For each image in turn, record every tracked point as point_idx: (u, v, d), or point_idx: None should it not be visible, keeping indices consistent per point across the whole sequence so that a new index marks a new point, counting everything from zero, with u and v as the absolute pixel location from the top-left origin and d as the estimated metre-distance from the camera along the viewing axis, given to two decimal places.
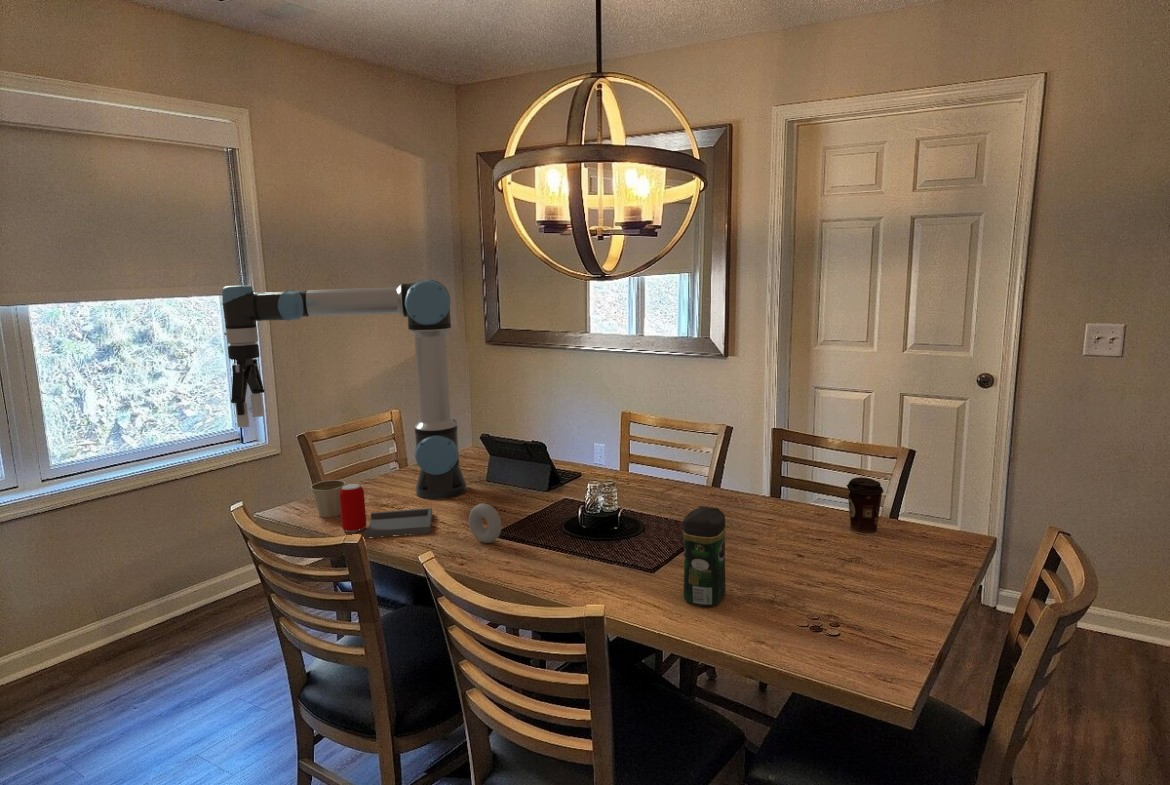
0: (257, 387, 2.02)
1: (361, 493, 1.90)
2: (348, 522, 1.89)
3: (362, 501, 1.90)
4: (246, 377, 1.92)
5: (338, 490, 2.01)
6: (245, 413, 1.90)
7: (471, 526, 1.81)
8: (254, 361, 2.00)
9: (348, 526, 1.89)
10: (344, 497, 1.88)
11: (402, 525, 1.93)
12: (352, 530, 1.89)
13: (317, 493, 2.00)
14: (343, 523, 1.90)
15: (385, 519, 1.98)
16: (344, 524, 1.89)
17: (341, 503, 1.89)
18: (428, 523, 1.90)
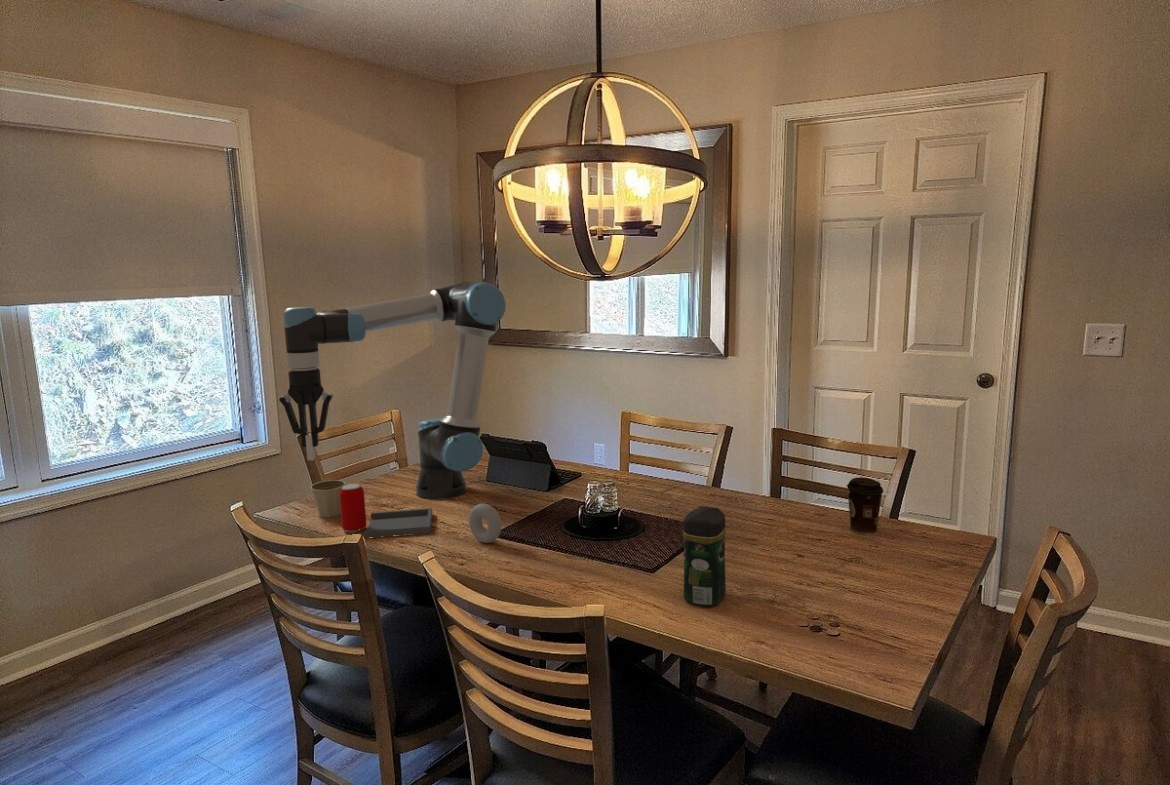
0: (310, 424, 1.85)
1: (361, 493, 1.90)
2: (348, 522, 1.89)
3: (362, 501, 1.90)
4: None
5: (338, 490, 2.01)
6: None
7: (471, 526, 1.81)
8: (327, 396, 1.85)
9: (348, 526, 1.89)
10: (344, 497, 1.88)
11: (402, 525, 1.93)
12: (352, 530, 1.89)
13: (317, 493, 2.00)
14: (343, 523, 1.90)
15: (385, 519, 1.98)
16: (344, 524, 1.89)
17: (341, 503, 1.89)
18: (428, 523, 1.90)
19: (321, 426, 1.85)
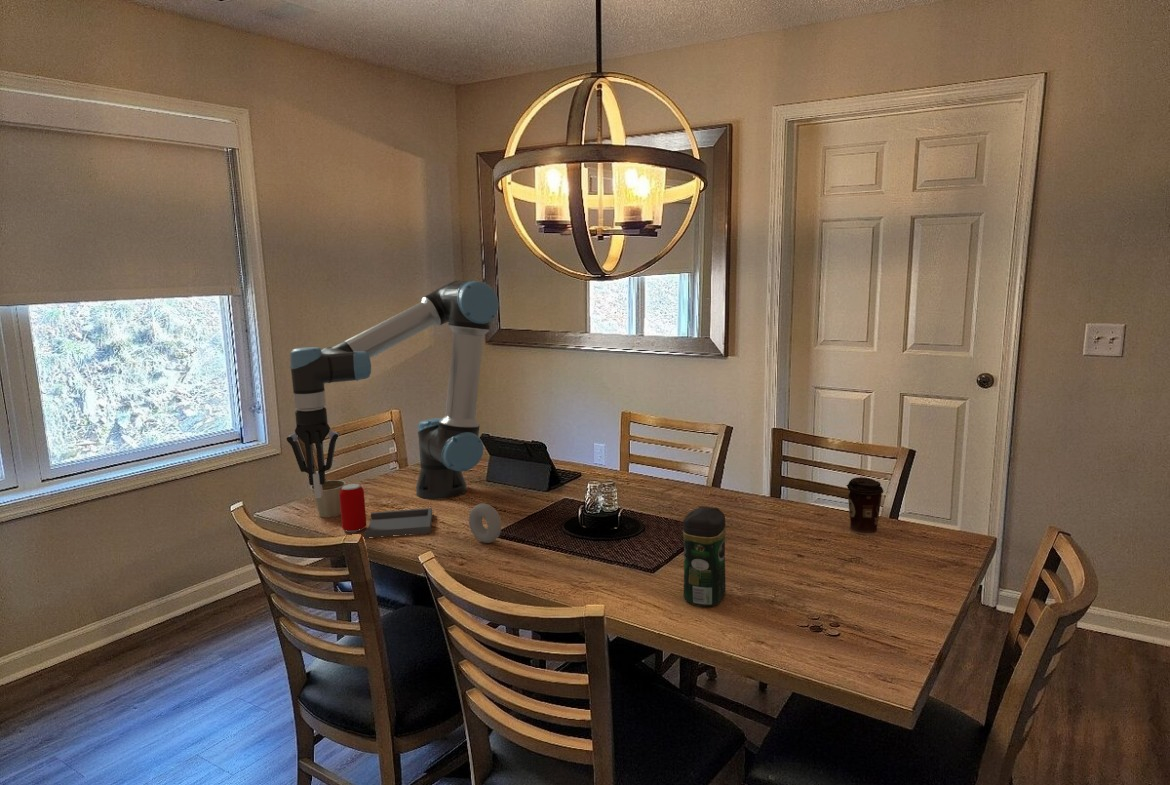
0: None
1: (361, 493, 1.90)
2: (348, 522, 1.89)
3: (362, 501, 1.90)
4: None
5: (338, 490, 2.01)
6: (313, 484, 1.88)
7: (471, 526, 1.81)
8: (333, 435, 1.86)
9: (348, 526, 1.89)
10: (344, 497, 1.88)
11: (402, 525, 1.93)
12: (352, 530, 1.89)
13: None
14: (343, 523, 1.90)
15: (385, 519, 1.98)
16: (344, 524, 1.89)
17: (341, 503, 1.89)
18: (428, 523, 1.90)
19: (328, 464, 1.87)
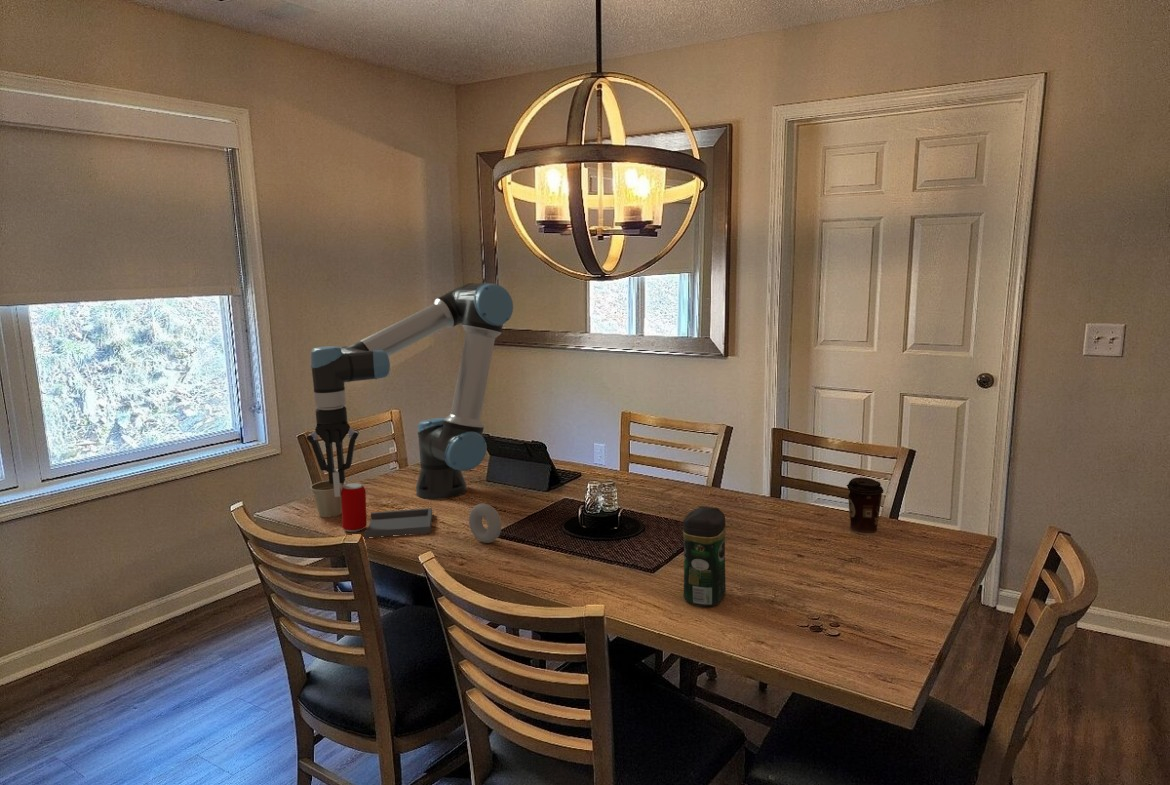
0: None
1: (363, 493, 1.90)
2: (348, 521, 1.89)
3: (363, 501, 1.90)
4: None
5: None
6: (333, 483, 1.88)
7: (471, 526, 1.81)
8: (353, 433, 1.87)
9: (348, 525, 1.89)
10: (346, 496, 1.88)
11: (402, 525, 1.93)
12: (352, 529, 1.89)
13: (317, 493, 2.00)
14: (343, 522, 1.90)
15: (385, 519, 1.98)
16: (344, 523, 1.89)
17: (342, 502, 1.89)
18: (428, 523, 1.90)
19: (348, 463, 1.88)
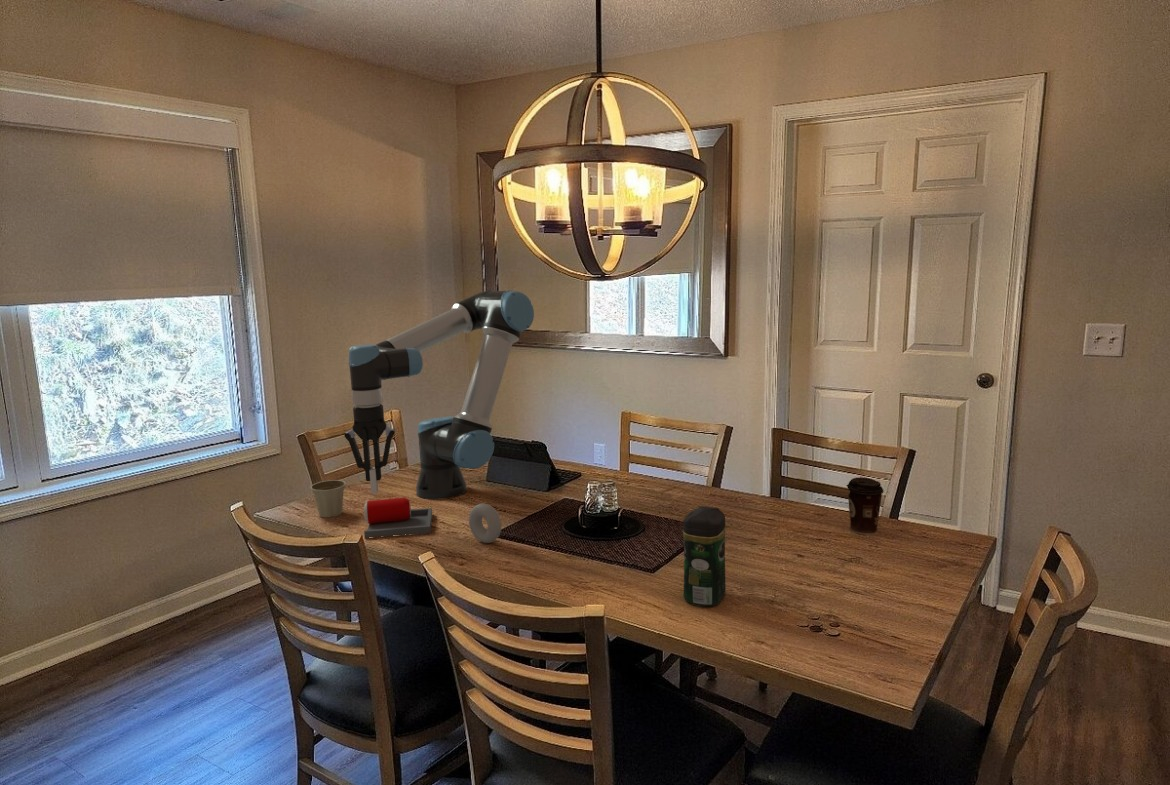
0: None
1: (404, 514, 1.95)
2: (376, 502, 1.94)
3: (395, 515, 1.94)
4: None
5: (338, 490, 2.01)
6: (370, 480, 1.90)
7: (471, 526, 1.81)
8: (390, 431, 1.89)
9: (372, 502, 1.94)
10: (402, 499, 1.96)
11: (402, 525, 1.93)
12: (367, 506, 1.93)
13: (317, 493, 2.00)
14: (374, 500, 1.96)
15: None
16: (373, 500, 1.95)
17: (395, 498, 1.97)
18: (428, 523, 1.90)
19: (384, 460, 1.89)
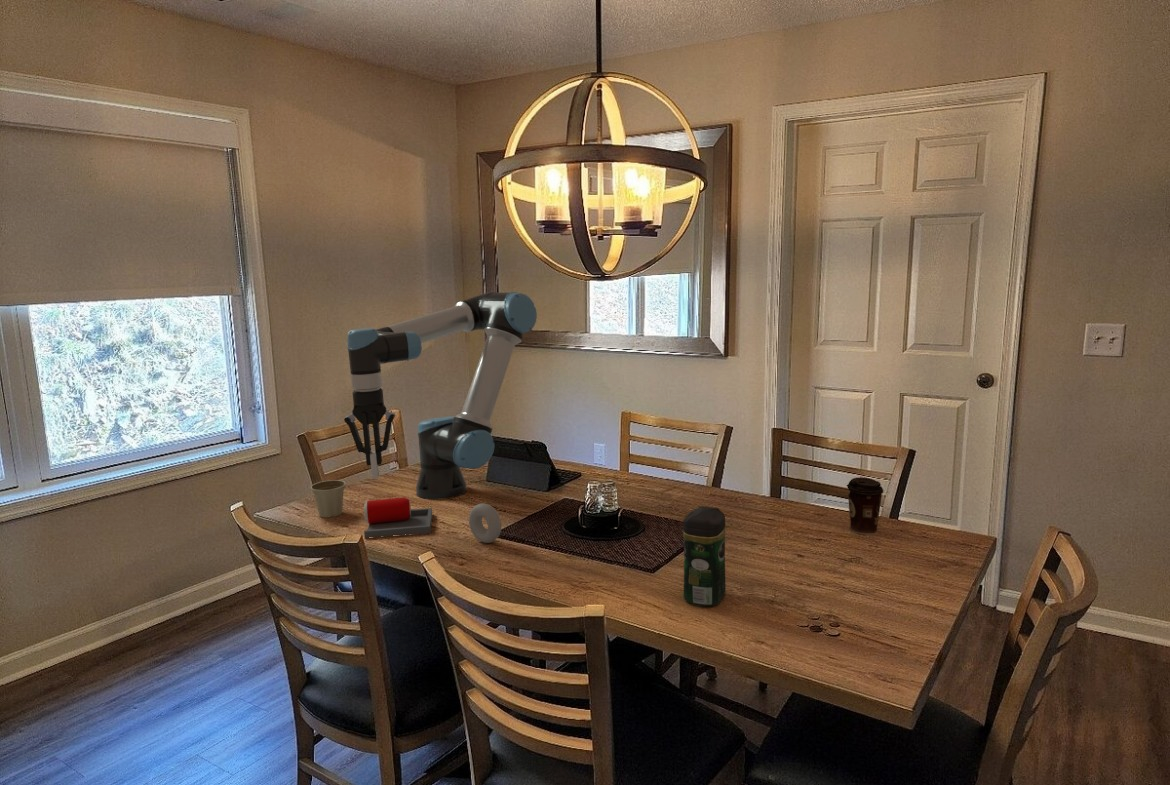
0: None
1: (404, 513, 1.95)
2: (376, 501, 1.94)
3: (395, 515, 1.94)
4: None
5: (338, 490, 2.01)
6: (371, 464, 1.89)
7: (471, 526, 1.81)
8: (390, 415, 1.88)
9: (372, 502, 1.94)
10: (402, 498, 1.96)
11: (402, 525, 1.93)
12: (367, 505, 1.93)
13: (317, 493, 2.00)
14: (374, 500, 1.96)
15: None
16: (373, 500, 1.95)
17: (395, 498, 1.97)
18: (428, 523, 1.90)
19: (385, 445, 1.89)
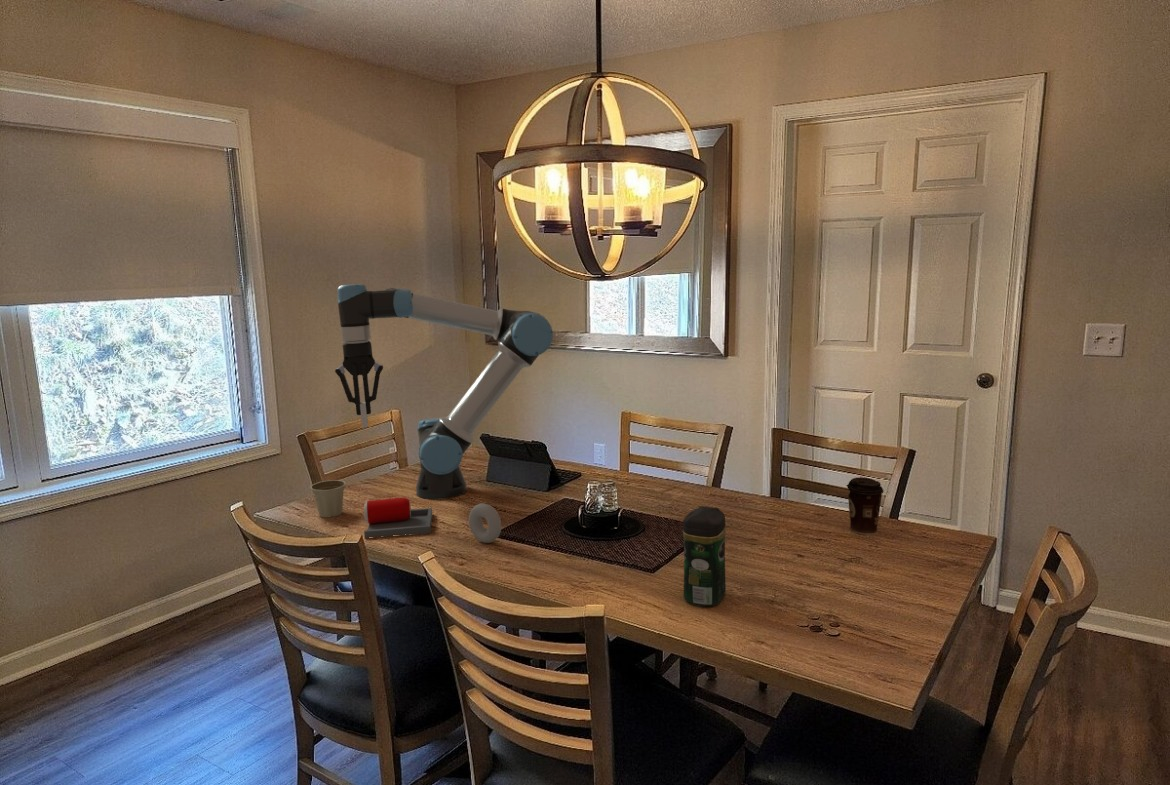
0: (364, 393, 1.99)
1: (404, 514, 1.95)
2: (376, 502, 1.94)
3: (395, 515, 1.94)
4: None
5: (338, 490, 2.01)
6: (360, 414, 2.00)
7: (471, 526, 1.81)
8: (378, 366, 1.99)
9: (372, 502, 1.94)
10: (402, 498, 1.96)
11: (402, 525, 1.93)
12: (367, 505, 1.93)
13: (317, 493, 2.00)
14: (374, 500, 1.96)
15: None
16: (373, 500, 1.95)
17: (395, 498, 1.97)
18: (428, 523, 1.90)
19: (374, 395, 2.00)
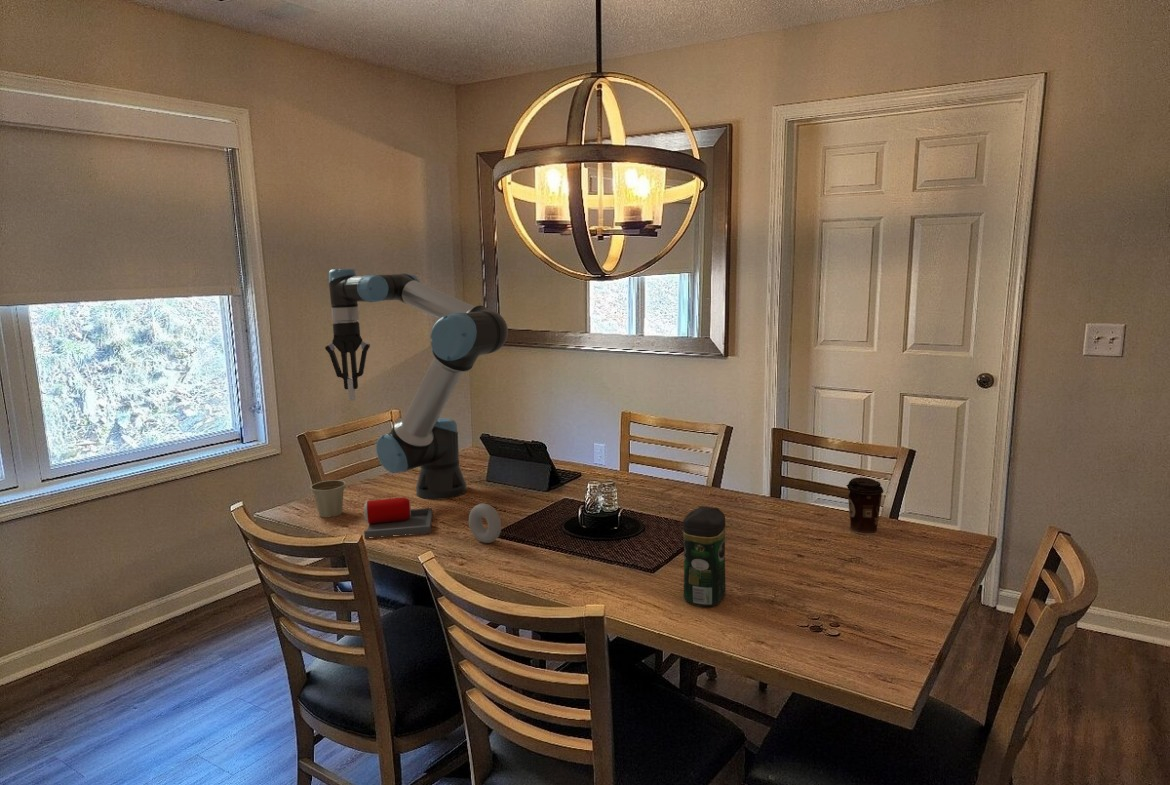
0: None
1: (404, 514, 1.95)
2: (376, 502, 1.94)
3: (395, 515, 1.94)
4: (341, 355, 2.15)
5: (338, 490, 2.01)
6: (348, 388, 2.17)
7: (471, 526, 1.81)
8: (365, 345, 2.16)
9: (372, 502, 1.94)
10: (402, 498, 1.96)
11: (402, 525, 1.93)
12: (367, 505, 1.93)
13: (317, 493, 2.00)
14: (374, 500, 1.96)
15: None
16: (373, 500, 1.95)
17: (395, 498, 1.97)
18: (428, 523, 1.90)
19: (360, 371, 2.17)
